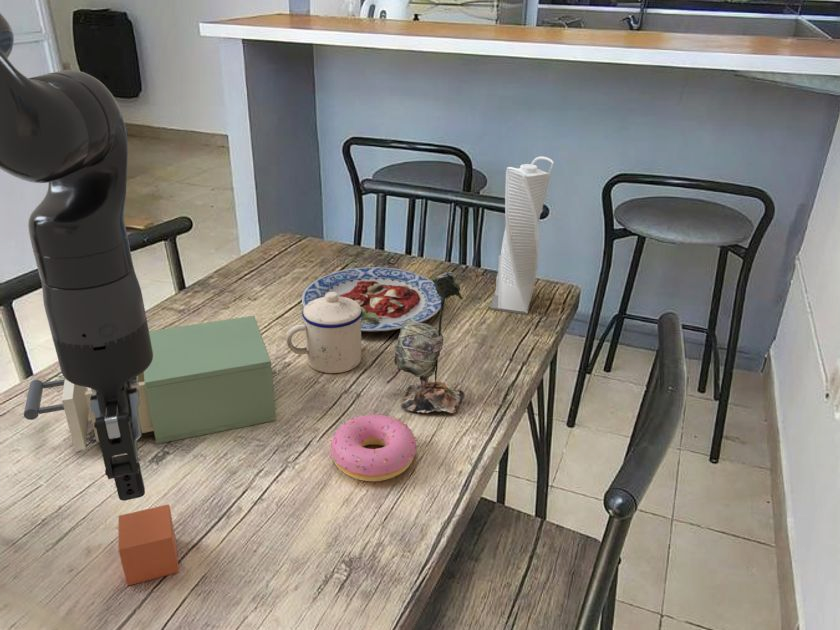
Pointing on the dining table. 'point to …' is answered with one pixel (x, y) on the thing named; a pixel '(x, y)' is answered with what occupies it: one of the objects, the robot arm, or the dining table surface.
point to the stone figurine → (426, 357)
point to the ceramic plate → (380, 295)
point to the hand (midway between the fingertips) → (132, 467)
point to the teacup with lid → (330, 333)
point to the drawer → (79, 408)
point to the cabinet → (208, 379)
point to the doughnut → (373, 461)
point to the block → (147, 544)
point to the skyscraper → (520, 237)
